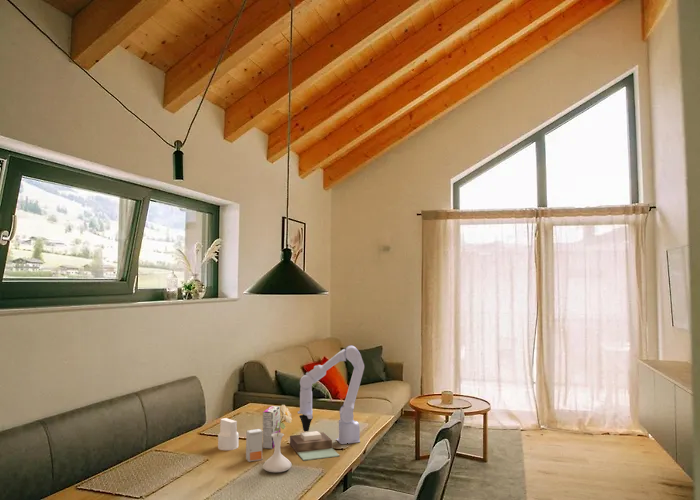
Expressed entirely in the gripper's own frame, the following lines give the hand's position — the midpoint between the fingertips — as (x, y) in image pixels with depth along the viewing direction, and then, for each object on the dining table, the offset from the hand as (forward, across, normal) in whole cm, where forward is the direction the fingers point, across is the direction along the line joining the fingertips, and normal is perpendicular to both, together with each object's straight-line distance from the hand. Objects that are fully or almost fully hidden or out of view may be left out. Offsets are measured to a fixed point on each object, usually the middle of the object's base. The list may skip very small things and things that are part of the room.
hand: (306, 431), depth 247 cm
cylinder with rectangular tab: (+5, -5, -35) cm, 36 cm away
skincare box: (+5, +16, -27) cm, 32 cm away
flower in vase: (+5, +31, -20) cm, 37 cm away
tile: (+1, +8, 0) cm, 8 cm away
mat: (+5, +20, 0) cm, 20 cm away
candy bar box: (+5, -1, -16) cm, 17 cm away
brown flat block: (+5, +8, 0) cm, 9 cm away
